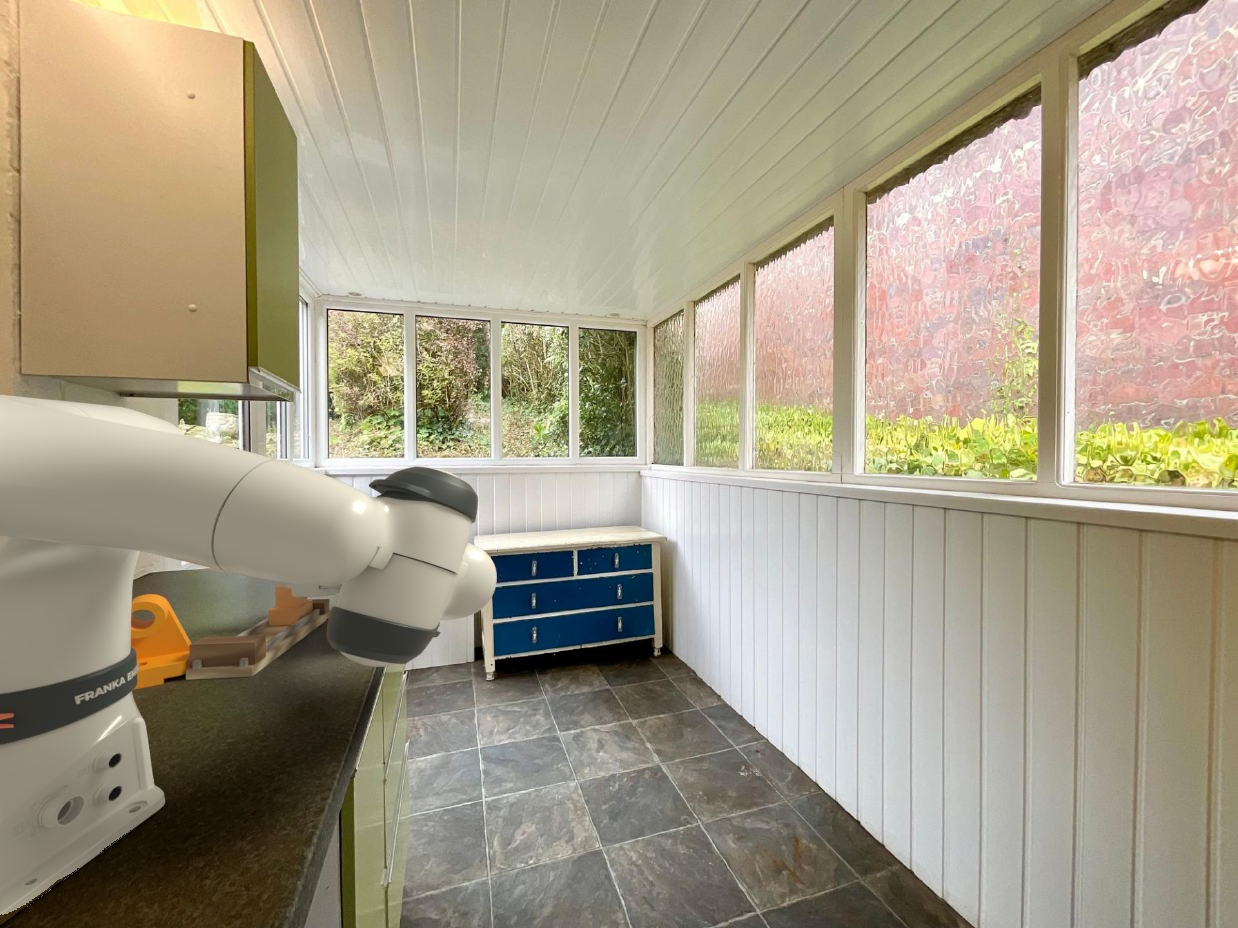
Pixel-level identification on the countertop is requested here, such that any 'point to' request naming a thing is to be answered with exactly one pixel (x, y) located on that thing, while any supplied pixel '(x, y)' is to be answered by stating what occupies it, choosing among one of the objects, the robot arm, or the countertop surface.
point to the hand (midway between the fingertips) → (290, 574)
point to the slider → (288, 608)
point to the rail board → (265, 661)
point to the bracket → (158, 642)
